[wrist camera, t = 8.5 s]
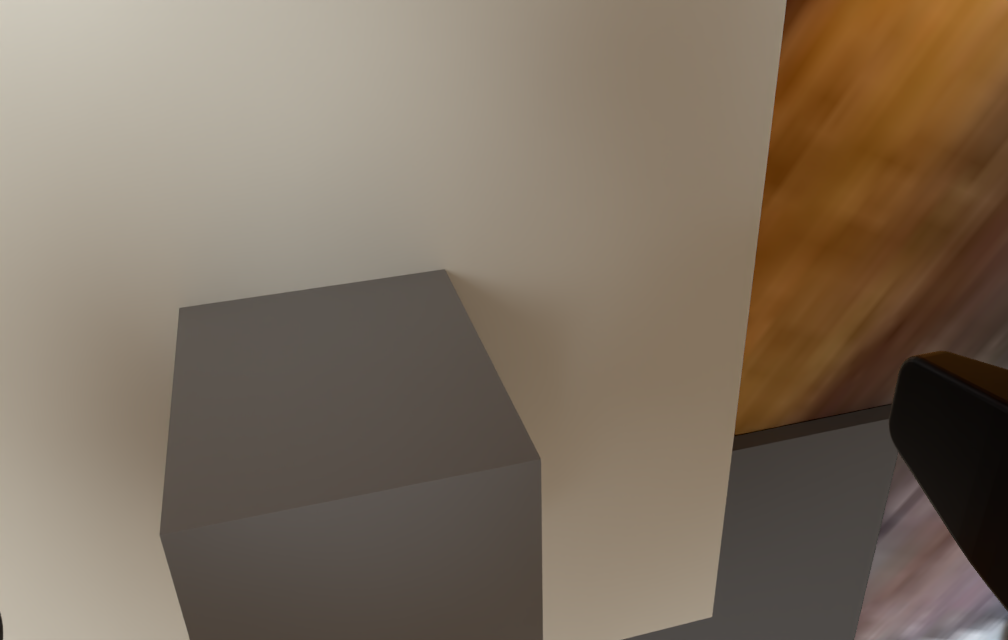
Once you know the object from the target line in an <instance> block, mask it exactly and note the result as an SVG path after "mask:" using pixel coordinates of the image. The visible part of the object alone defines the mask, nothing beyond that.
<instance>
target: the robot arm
mask: <svg viewBox="0 0 1008 640" xmlns="http://www.w3.org/2000/svg"><path fill="white" fill-rule="evenodd" d="M889 432H890V436H891V439H892V441H893V444H894V445H895V447H896V449H897V450H898V452H899V453H900V455H901V457H902V458H903V460H904V461H905V463H906V464H907V466H908V468H909V469H910V471H911V472H912V474H913V475H914V477H915V478H916V480H917V482H918V483H919V485H920V486H921V488H922V489H923V491H924V493H925V494H926V496H927V497H928V499H929V500H930V502H931V504H932V505H933V507H934V508H935V510H936V511H937V513H938V514H939V516H940V518H941V519H942V521H943V522H944V524H945V525H946V527H947V529H948V530H949V532H950V533H951V535H952V536H953V538H954V540H955V541H956V543H957V544H958V546H959V547H960V549H961V550H962V551H963V553H964V554H965V556H966V557H967V559H968V560H969V562H970V563H971V565H972V566H973V567H974V569H975V570H976V571H977V573H978V574H979V575H980V577H981V578H982V579H983V581H984V582H985V583H986V584H987V586H988V587H989V588H990V590H991V591H992V592H993V593H994V595H995V596H996V597H997V598H998V600H999V601H1000V602H1001V604H1002V605H1003V606H1004V607H1005V609H1006V610H1007V611H1008V370H1007V369H1004V368H1000V367H997V366H994V365H990V364H987V363H984V362H981V361H977V360H974V359H971V358H967V357H964V356H961V355H957V354H954V353H951V352H947V351H937V352H932V353H927V354H921V355H916V356H912V357H910V358H908V359H906V360H905V361H904V363H903V364H902V365H901V367H900V370H899V374H898V379H897V383H896V388H895V393H894V397H893V402H892V407H891V411H890V416H889ZM0 640H3V623H2V617H1V613H0Z"/></svg>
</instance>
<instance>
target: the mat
mask: <svg viewBox="0 0 1008 640" xmlns="http://www.w3.org/2000/svg"><path fill="white" fill-rule="evenodd" d="M891 407H892V405H887V406H882V407H877V408H872V409H867V410H862V411H857V412H852V413H847V414H842V415H837V416H832V417H828V418H823V419H818V420H813V421H808V422H803V423H798V424H793V425H788V426H783V427H778V428H773V429H768V430H763V431H758V432H754V433H749V434H744V435H739V436H734V440H733V448H732V456H731V465H730V473H729V481H728V489H727V498H726V506H725V514H724V523H723V531H722V539H721V547H720V556H719V564H718V572H717V580H716V589H715V597H714V605H713V613H712V617H710V618H706V619H702V620H698V621H694V622H690V623H686V624H682V625H678V626H674V627H670V628H666V629H662V630H658V631H654V632H650V633H646V634H642V635H638V636H634V637H630V638H626V639H622V640H854V638H855V633H856V629H857V625H858V621H859V616H860V612H861V608H862V604H863V599H864V595H865V591H866V587H867V582H868V578H869V574H870V570H871V565H872V561H873V557H874V553H875V549H876V544H877V540H878V536H879V532H880V527H881V523H882V519H883V515H884V510H885V506H886V502H887V498H888V493H889V489H890V485H891V481H892V476H893V472H894V468H895V464H896V460H897V455H898V450H897V449H896V447H895V445H894V444H893V441H892V439H891V436H890V432H889V416H890V411H891Z"/></svg>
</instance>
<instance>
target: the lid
mask: <svg viewBox="0 0 1008 640" xmlns="http://www.w3.org/2000/svg"><path fill="white" fill-rule="evenodd" d="M786 2H787V0H0V613H1V617H2V623H3V640H622V639H626V638H630V637H634V636H638V635H642V634H646V633H650V632H654V631H658V630H662V629H666V628H670V627H674V626H678V625H682V624H686V623H690V622H694V621H698V620H702V619H706V618H710V617H712V613H713V605H714V597H715V589H716V580H717V572H718V564H719V556H720V547H721V539H722V531H723V523H724V514H725V506H726V498H727V489H728V481H729V473H730V465H731V456H732V448H733V440H734V432H735V423H736V415H737V407H738V399H739V390H740V382H741V374H742V366H743V357H744V349H745V341H746V332H747V324H748V316H749V308H750V299H751V291H752V283H753V275H754V266H755V258H756V250H757V242H758V233H759V225H760V217H761V209H762V200H763V192H764V184H765V176H766V167H767V159H768V151H769V142H770V134H771V126H772V118H773V109H774V101H775V93H776V85H777V76H778V68H779V60H780V52H781V43H782V35H783V27H784V19H785V10H786Z"/></svg>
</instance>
